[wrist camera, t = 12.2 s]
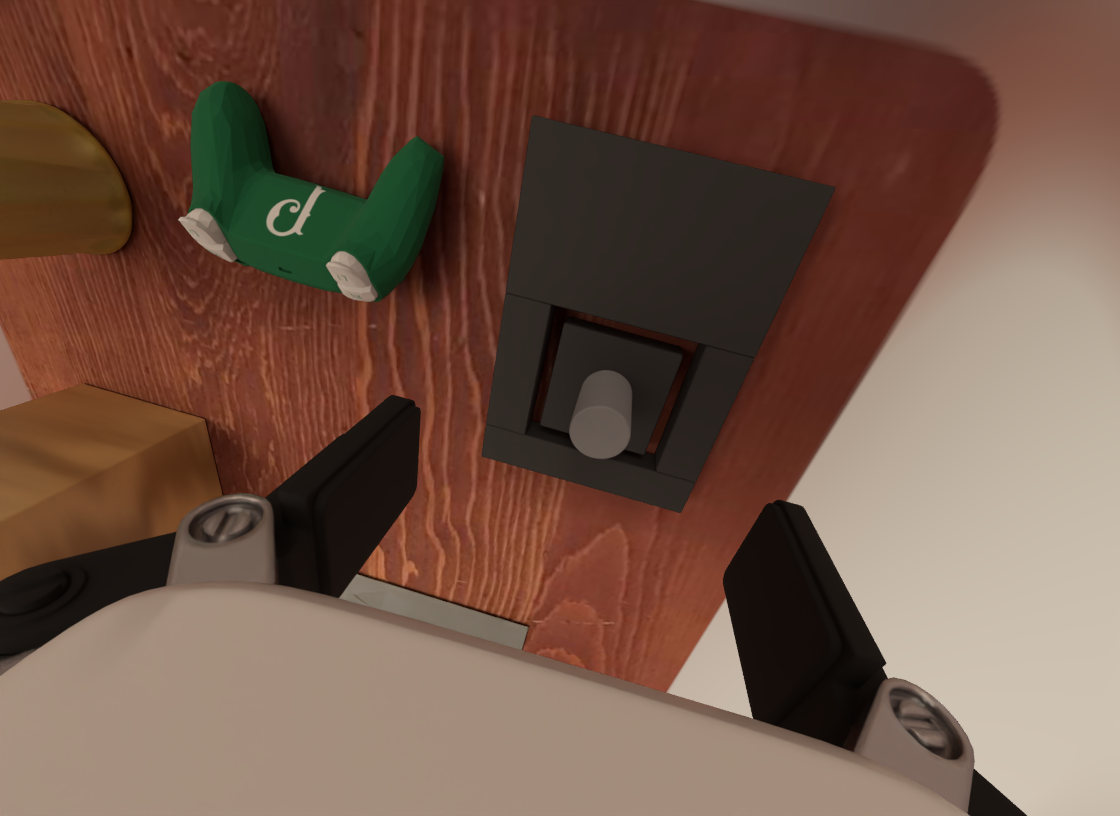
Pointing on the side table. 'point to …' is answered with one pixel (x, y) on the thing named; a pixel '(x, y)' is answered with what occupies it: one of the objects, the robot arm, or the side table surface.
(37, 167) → the vase
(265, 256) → the gaming controller
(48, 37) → the side table surface
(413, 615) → the grey flat square slab
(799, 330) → the side table surface
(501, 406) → the base pad
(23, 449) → the stand
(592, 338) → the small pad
